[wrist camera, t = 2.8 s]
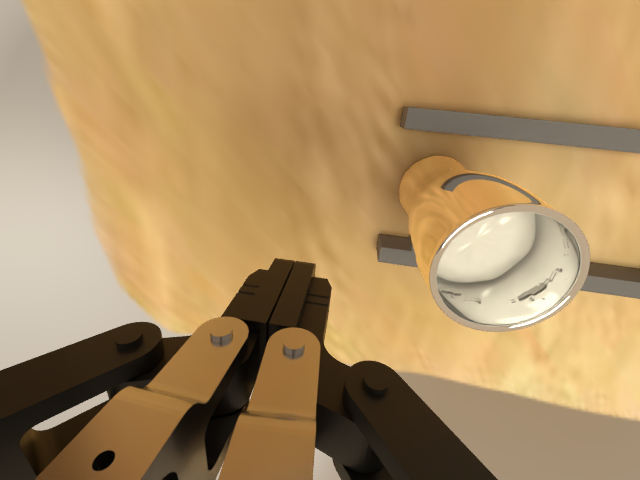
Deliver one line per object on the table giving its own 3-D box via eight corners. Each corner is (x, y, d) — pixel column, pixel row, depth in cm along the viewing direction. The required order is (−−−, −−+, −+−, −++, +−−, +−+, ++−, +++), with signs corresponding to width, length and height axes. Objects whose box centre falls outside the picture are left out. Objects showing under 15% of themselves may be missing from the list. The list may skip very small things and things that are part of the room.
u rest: (403, 106, 24) (408, 107, 22) (745, 140, 22) (798, 145, 19) (376, 247, 30) (378, 261, 27) (648, 285, 28) (679, 304, 25)
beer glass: (470, 223, 27) (575, 336, 14) (393, 227, 29) (422, 335, 15) (478, 146, 25) (619, 193, 11) (393, 153, 26) (427, 205, 12)
